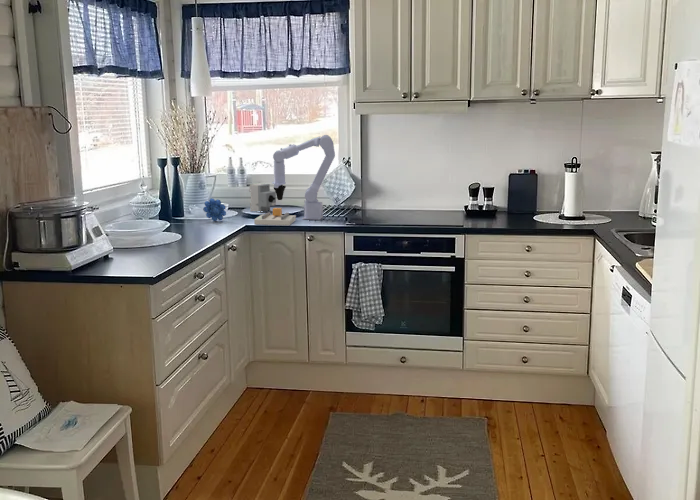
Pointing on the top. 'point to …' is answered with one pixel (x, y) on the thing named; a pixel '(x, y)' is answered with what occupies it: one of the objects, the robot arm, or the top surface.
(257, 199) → the circuit breaker
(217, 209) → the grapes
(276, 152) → the robot arm
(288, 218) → the panel
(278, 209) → the lever
